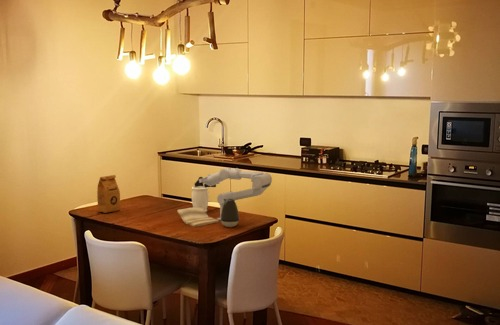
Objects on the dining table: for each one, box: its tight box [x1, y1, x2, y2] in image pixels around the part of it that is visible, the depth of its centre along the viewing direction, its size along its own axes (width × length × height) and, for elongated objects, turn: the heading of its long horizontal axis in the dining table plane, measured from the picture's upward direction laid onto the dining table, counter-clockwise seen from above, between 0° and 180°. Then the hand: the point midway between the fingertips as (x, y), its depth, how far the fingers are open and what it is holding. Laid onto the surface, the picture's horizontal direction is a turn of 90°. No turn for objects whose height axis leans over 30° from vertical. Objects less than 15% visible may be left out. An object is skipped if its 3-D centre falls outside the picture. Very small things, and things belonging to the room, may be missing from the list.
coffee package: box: [96, 174, 122, 214], centre depth 314 cm, size 10×12×22 cm
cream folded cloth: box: [176, 206, 209, 224], centre depth 296 cm, size 9×16×1 cm
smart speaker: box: [220, 199, 240, 228], centre depth 283 cm, size 10×10×15 cm
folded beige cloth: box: [185, 216, 220, 228], centre depth 290 cm, size 9×16×1 cm, turn 130°
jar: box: [190, 185, 210, 213], centre depth 316 cm, size 11×10×15 cm
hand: (200, 185), depth 308 cm, fingers open, 7 cm apart
